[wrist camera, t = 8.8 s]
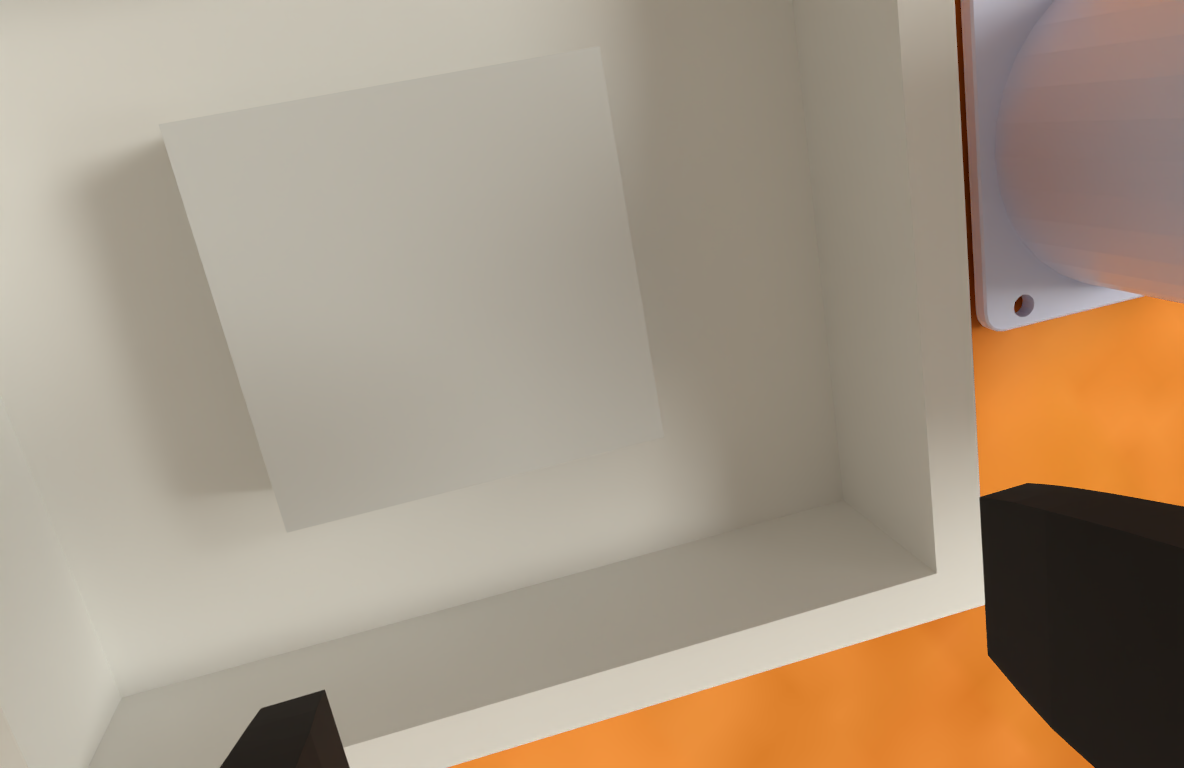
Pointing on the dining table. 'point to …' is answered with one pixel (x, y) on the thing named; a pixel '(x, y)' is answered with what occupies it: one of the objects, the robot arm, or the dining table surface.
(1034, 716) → the dining table surface
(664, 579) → the grey crate
